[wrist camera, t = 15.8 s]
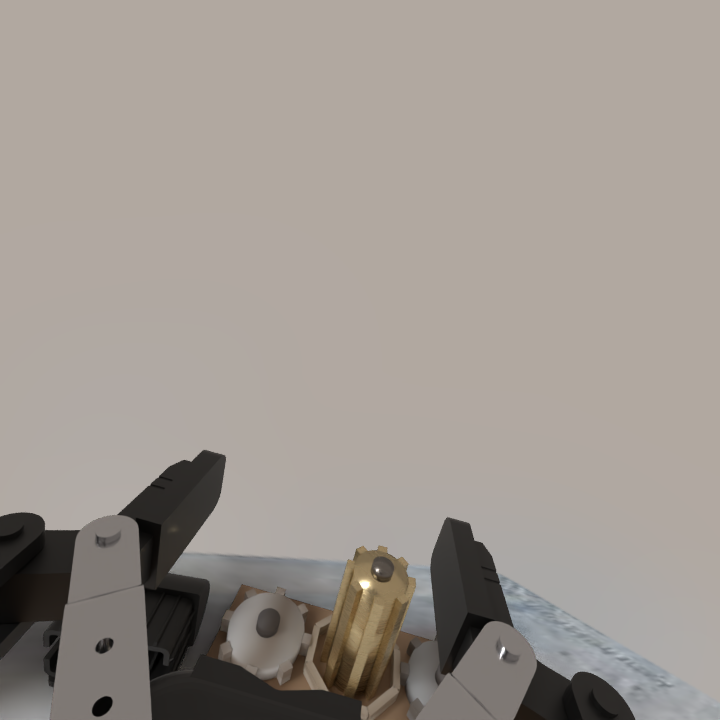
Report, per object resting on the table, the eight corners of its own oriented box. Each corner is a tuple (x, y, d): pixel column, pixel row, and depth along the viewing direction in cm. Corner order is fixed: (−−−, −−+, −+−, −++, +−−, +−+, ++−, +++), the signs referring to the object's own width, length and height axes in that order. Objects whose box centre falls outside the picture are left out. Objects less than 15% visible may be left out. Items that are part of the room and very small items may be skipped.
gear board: (193, 688, 30) (198, 656, 29) (240, 592, 39) (245, 565, 38) (494, 782, 29) (510, 752, 28) (473, 662, 38) (485, 636, 37)
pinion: (313, 692, 31) (343, 585, 27) (326, 626, 36) (353, 530, 33) (380, 713, 31) (419, 607, 27) (384, 643, 36) (416, 548, 33)
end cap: (205, 618, 36) (214, 564, 34) (170, 705, 29) (177, 644, 27) (100, 600, 35) (102, 544, 33) (38, 685, 28) (36, 621, 26)
